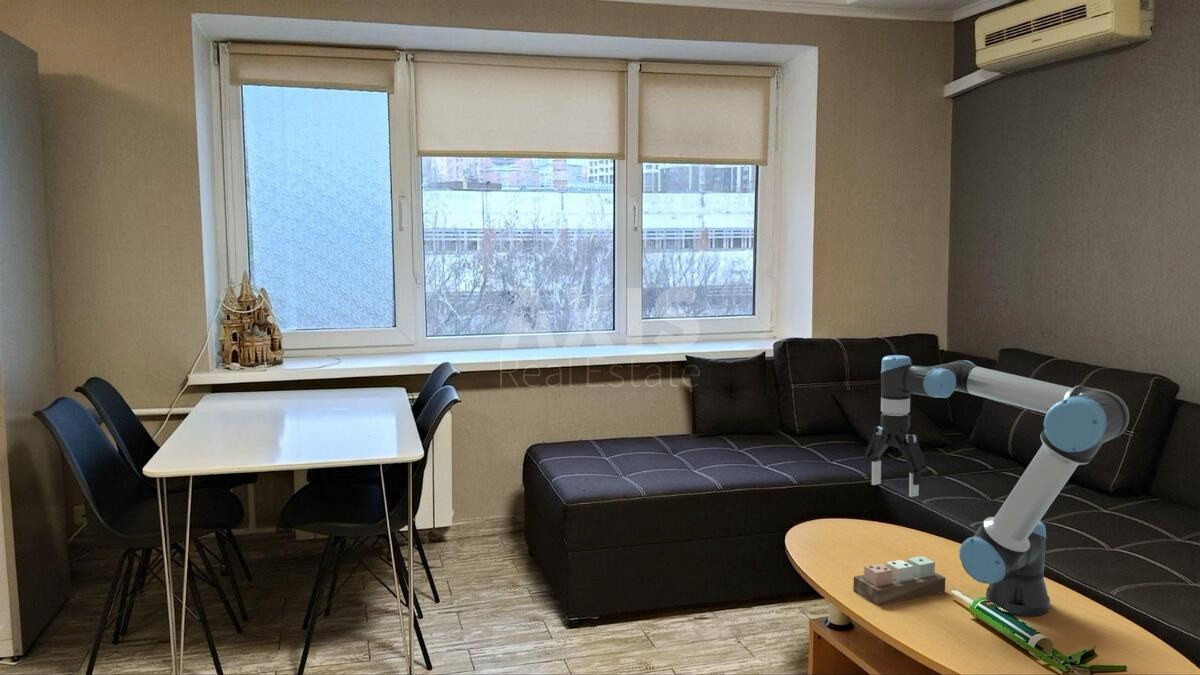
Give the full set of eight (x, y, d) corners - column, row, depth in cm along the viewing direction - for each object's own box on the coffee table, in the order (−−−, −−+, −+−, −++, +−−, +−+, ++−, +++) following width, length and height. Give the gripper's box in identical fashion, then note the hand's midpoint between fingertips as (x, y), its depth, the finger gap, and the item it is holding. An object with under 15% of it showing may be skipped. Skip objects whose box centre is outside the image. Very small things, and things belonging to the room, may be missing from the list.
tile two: (913, 584, 243) (913, 565, 242) (897, 586, 241) (898, 568, 240) (900, 577, 247) (901, 558, 247) (885, 580, 246) (886, 561, 245)
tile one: (934, 580, 245) (934, 561, 244) (919, 582, 243) (919, 564, 243) (921, 573, 250) (922, 555, 249) (906, 576, 248) (907, 557, 247)
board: (944, 591, 244) (945, 577, 243) (876, 605, 236) (877, 590, 236) (919, 578, 253) (920, 564, 252) (853, 590, 245) (853, 576, 245)
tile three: (891, 588, 240) (892, 569, 240) (875, 591, 239) (876, 572, 238) (879, 581, 245) (879, 562, 244) (864, 584, 243) (864, 565, 243)
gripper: (942, 419, 235) (940, 498, 237) (872, 404, 257) (871, 477, 259) (921, 422, 231) (920, 503, 234) (851, 407, 253) (851, 481, 256)
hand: (894, 490), depth 247 cm, fingers open, 13 cm apart
